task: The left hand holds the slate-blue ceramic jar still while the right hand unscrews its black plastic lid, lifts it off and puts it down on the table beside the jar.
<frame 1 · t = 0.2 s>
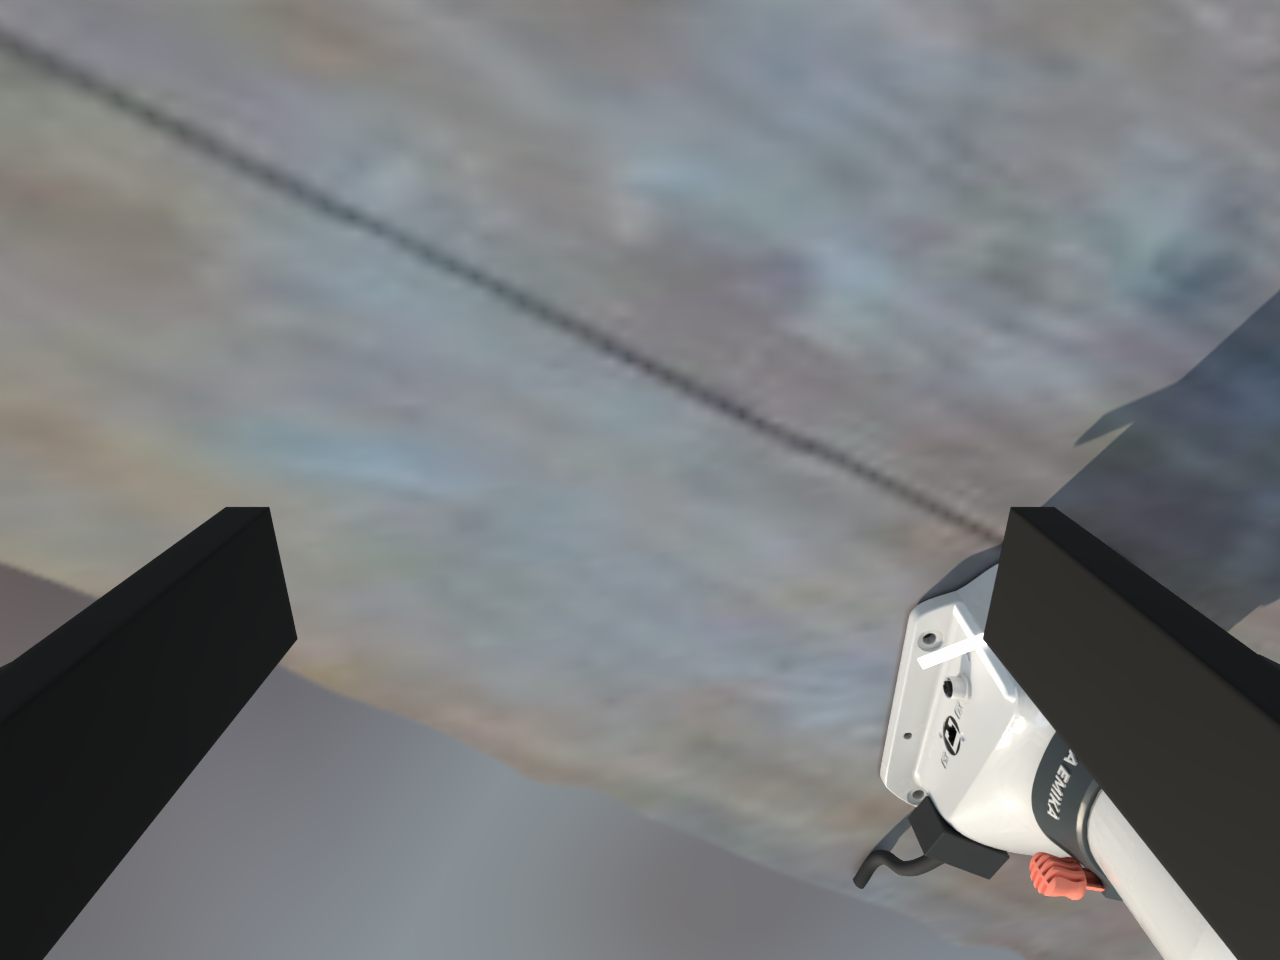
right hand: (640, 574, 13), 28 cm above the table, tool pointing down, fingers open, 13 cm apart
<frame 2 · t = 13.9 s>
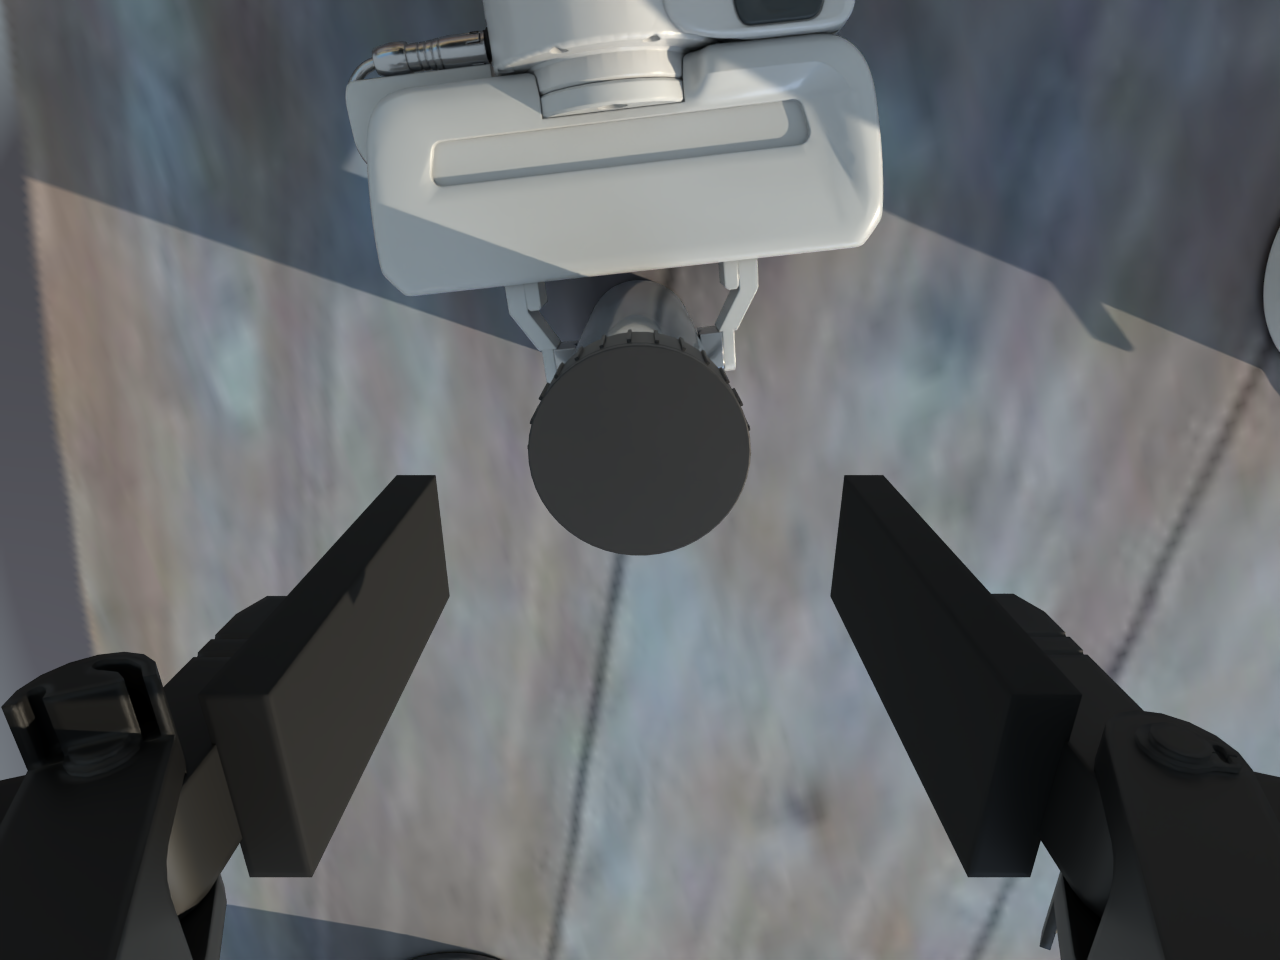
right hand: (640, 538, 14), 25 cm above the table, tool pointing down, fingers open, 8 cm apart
left hand: (642, 377, 31), fingers closed on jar, 5 cm apart
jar: (639, 332, 37), on the table, touching left hand
lid: (639, 452, 19), point 19 cm above the table, screwed on, not yet turned
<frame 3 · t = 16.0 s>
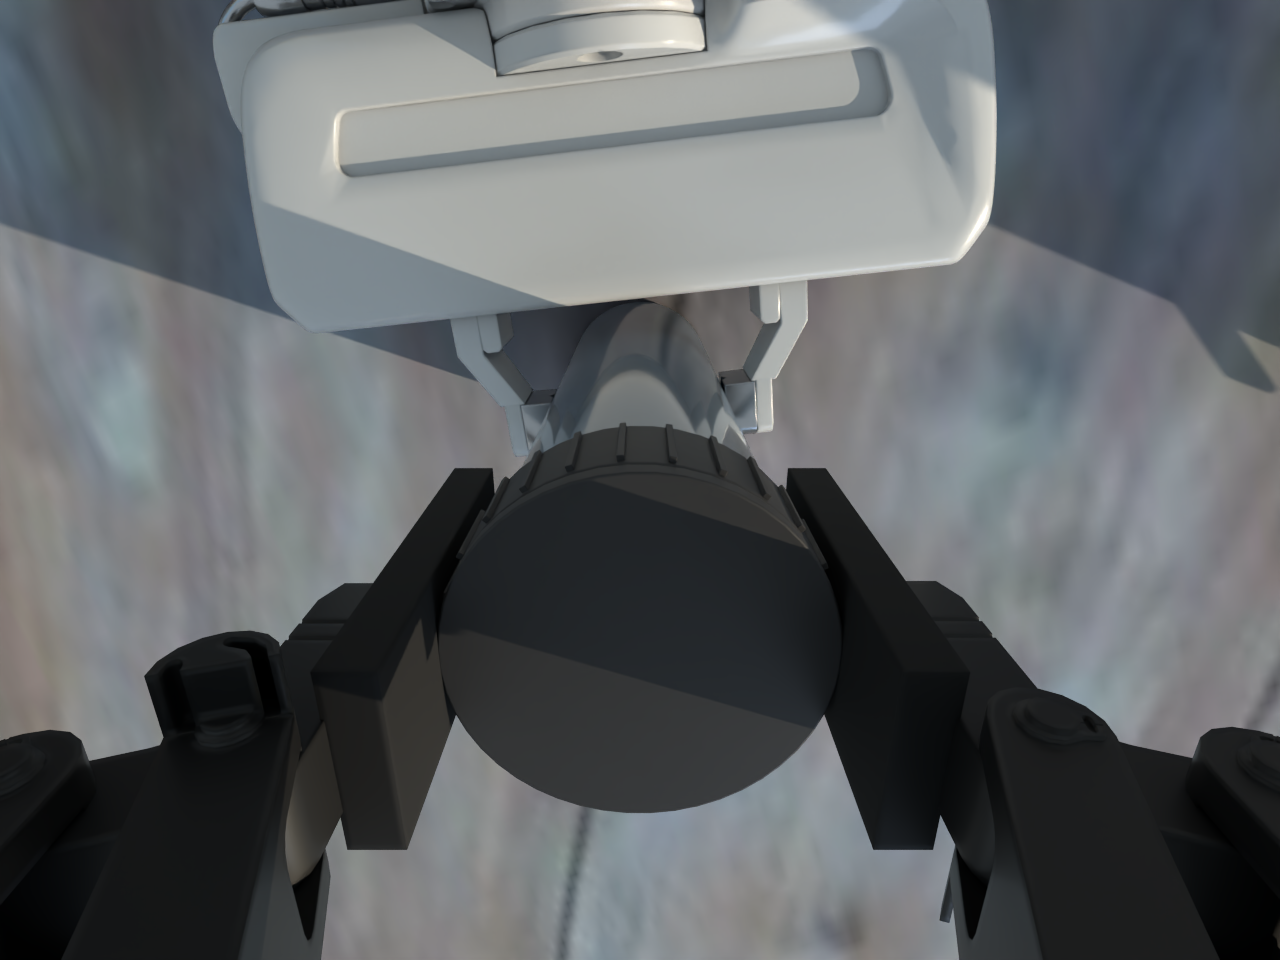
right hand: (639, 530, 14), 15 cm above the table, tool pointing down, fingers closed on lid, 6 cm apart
left hand: (644, 439, 23), fingers closed on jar, 5 cm apart
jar: (640, 369, 29), on the table, touching left hand
lid: (639, 647, 10), point 19 cm above the table, screwed on, not yet turned, touching right hand
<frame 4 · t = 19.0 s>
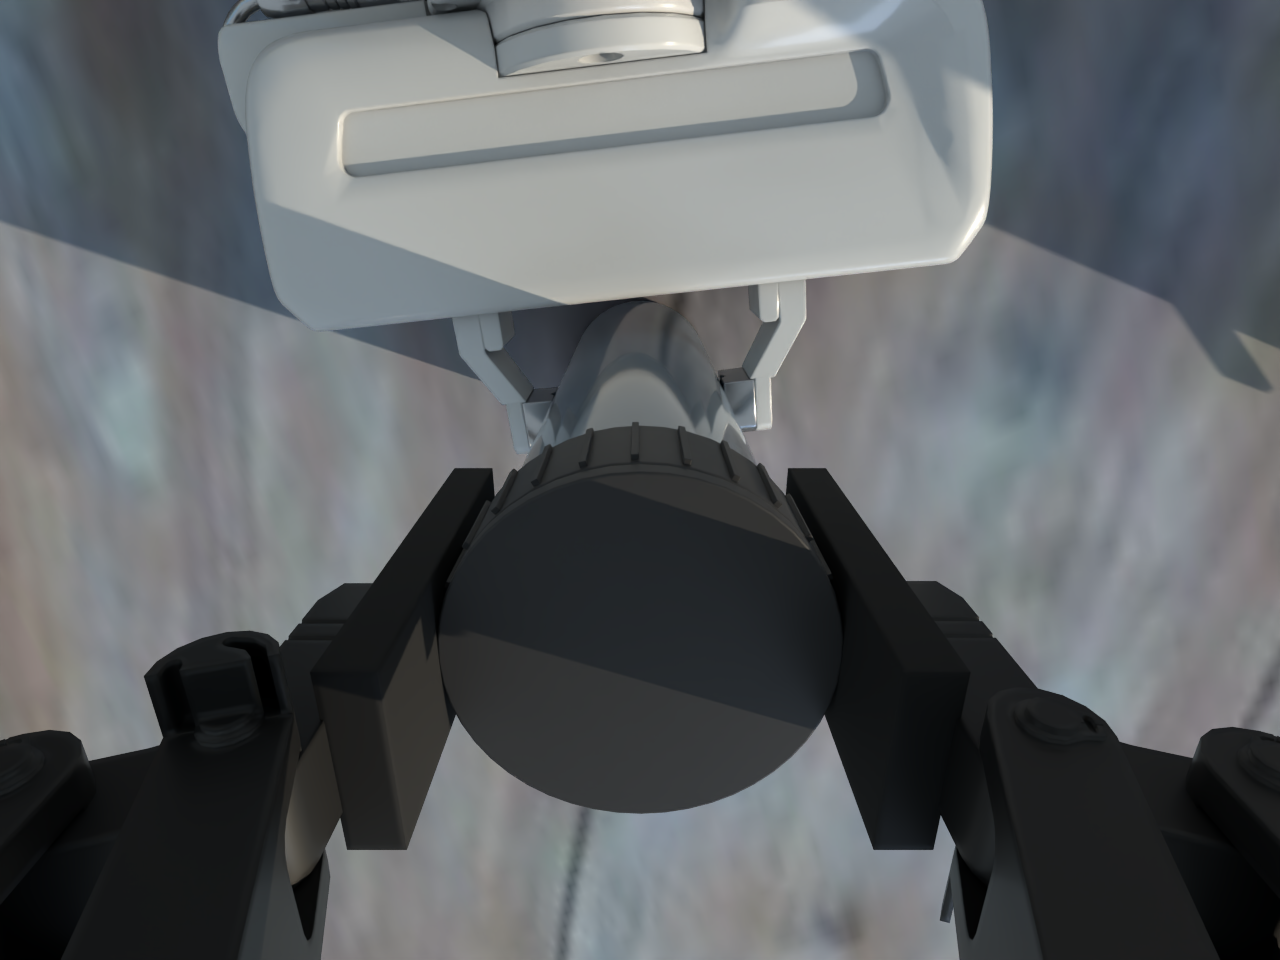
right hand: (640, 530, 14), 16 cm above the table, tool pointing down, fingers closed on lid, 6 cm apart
left hand: (644, 437, 23), fingers closed on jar, 5 cm apart
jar: (640, 367, 29), on the table, touching left hand
lid: (640, 647, 10), point 20 cm above the table, turned 79° so far, risen 0.2 cm, still on its thread, touching right hand
when the right hand's fingers open (0 cm above the table, at t = 26.4 s): lid drops 2 cm, point 2 cm above the table.
when the left hand's fingers open (7 cm above the table, at t = 27.6 s): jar stays where it is, on the table.
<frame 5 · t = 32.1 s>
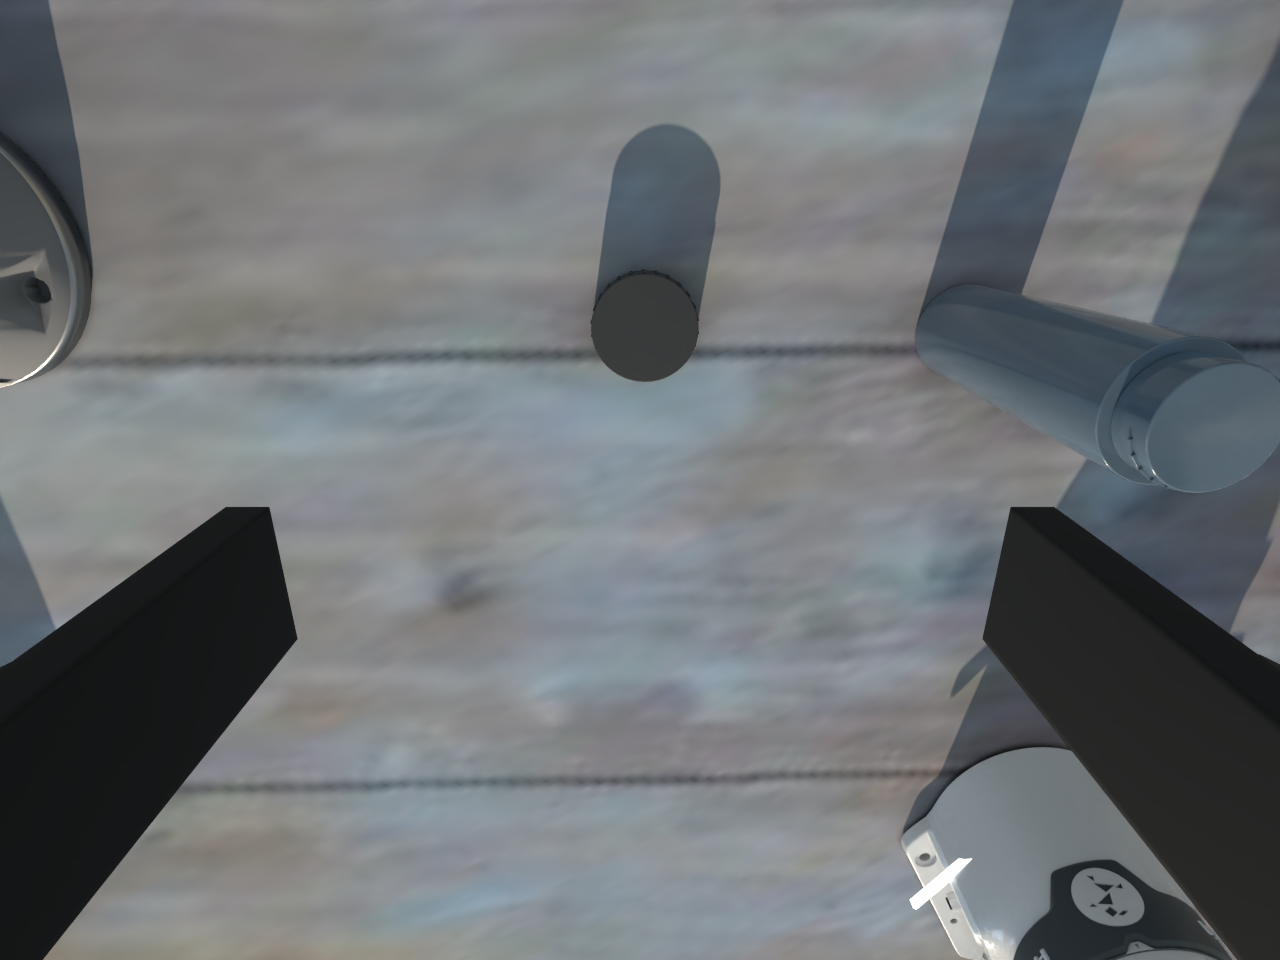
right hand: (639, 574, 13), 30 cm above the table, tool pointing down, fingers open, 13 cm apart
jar: (961, 331, 41), on the table
lid: (644, 328, 39), point 2 cm above the table, off its thread
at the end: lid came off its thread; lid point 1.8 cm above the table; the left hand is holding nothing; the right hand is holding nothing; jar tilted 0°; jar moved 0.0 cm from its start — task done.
